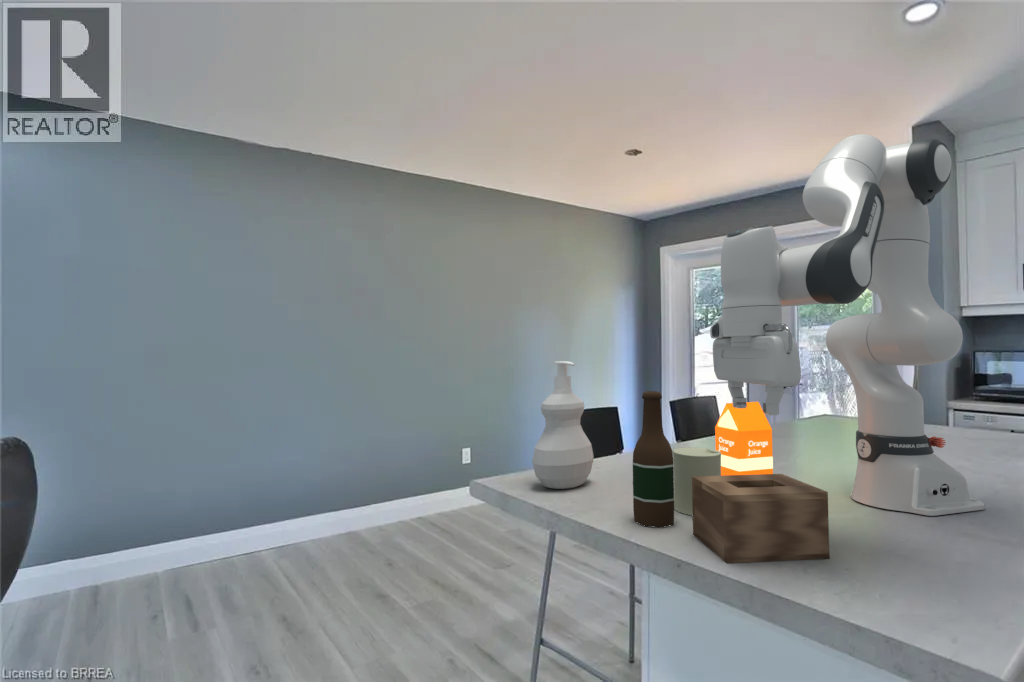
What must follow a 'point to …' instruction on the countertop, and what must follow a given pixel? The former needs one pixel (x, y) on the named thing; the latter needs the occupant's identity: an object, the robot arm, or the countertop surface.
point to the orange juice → (744, 440)
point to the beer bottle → (653, 469)
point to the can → (692, 473)
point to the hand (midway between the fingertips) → (754, 411)
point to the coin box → (760, 518)
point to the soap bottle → (562, 437)
